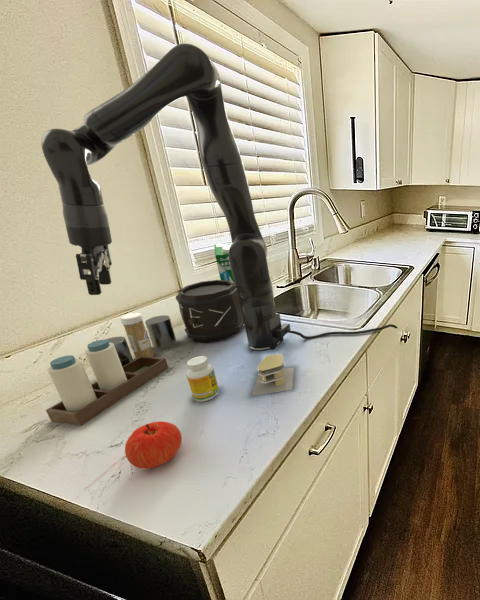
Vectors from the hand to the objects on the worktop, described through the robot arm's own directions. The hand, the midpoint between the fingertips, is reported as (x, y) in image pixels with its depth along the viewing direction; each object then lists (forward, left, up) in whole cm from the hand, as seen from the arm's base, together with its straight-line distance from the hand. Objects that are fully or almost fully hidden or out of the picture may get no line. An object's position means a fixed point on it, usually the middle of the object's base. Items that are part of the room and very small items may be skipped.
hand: (100, 289), depth 82 cm
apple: (-36, +26, -23) cm, 50 cm away
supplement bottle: (-31, +8, -23) cm, 39 cm away
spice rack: (-9, +11, -22) cm, 27 cm away
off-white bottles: (-9, +15, -22) cm, 28 cm away
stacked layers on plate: (-44, 0, -23) cm, 50 cm away
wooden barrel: (-10, -22, -23) cm, 33 cm away
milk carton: (-5, -42, -23) cm, 48 cm away
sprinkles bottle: (-1, -4, -23) cm, 23 cm away
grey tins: (-1, -4, -22) cm, 23 cm away
